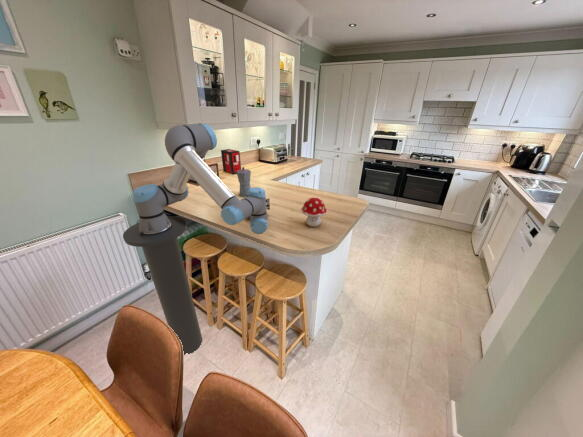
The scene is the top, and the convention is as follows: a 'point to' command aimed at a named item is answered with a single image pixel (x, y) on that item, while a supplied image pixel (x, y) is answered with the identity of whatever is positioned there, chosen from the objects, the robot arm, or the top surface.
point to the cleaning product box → (231, 161)
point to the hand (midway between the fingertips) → (255, 196)
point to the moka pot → (244, 181)
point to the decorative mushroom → (314, 211)
